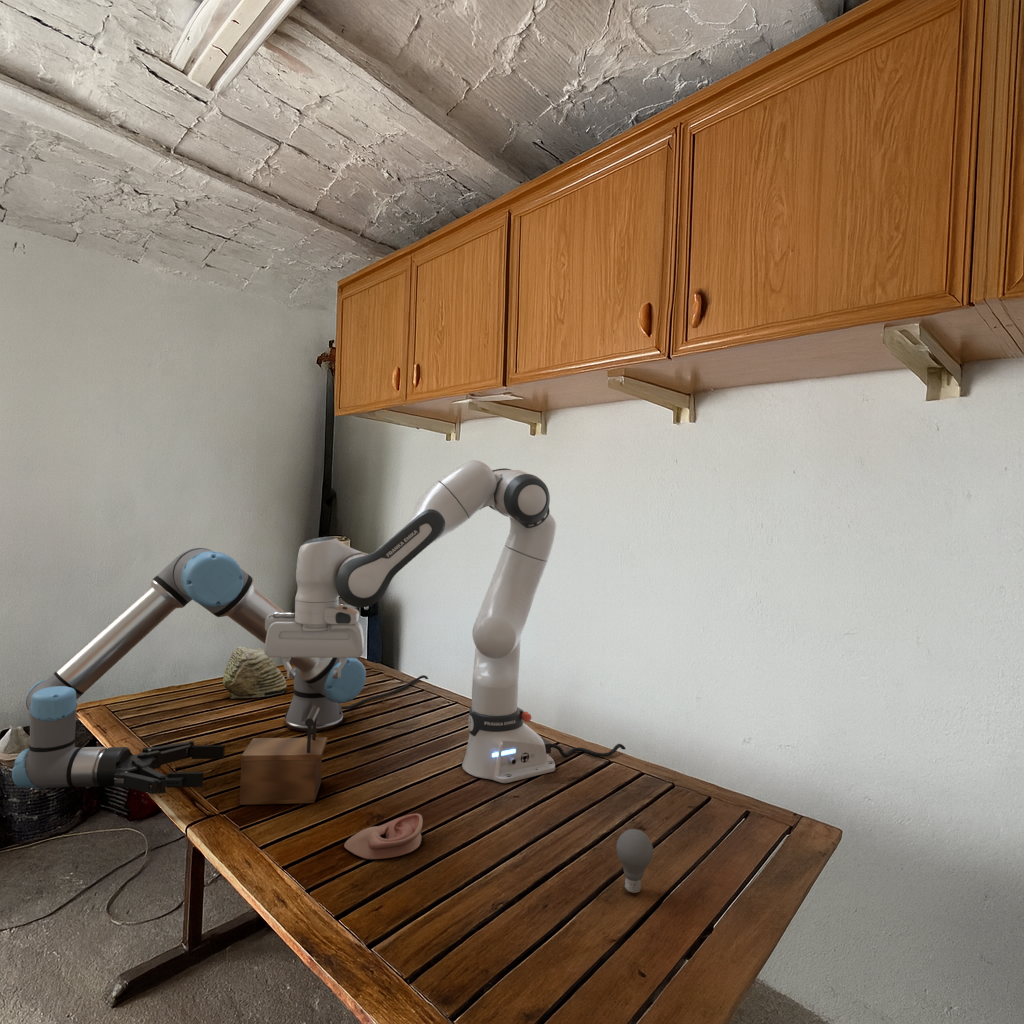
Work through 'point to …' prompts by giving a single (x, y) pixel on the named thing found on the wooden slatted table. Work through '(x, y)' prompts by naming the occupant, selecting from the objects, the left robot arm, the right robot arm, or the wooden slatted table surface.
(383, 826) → the anatomical model
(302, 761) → the chest
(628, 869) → the light bulb
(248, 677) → the fossil
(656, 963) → the wooden slatted table surface
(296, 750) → the lid
